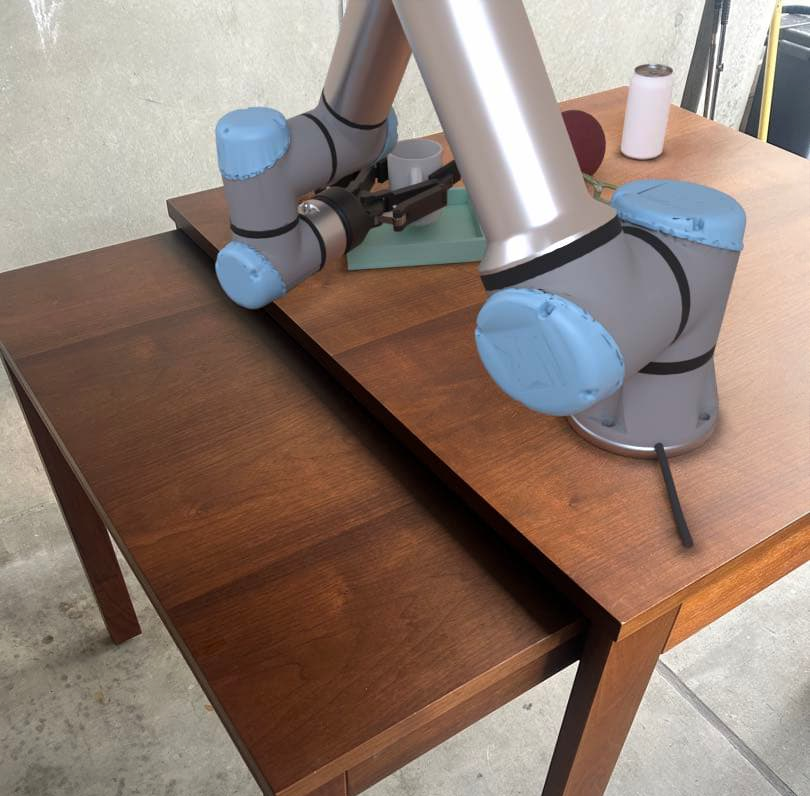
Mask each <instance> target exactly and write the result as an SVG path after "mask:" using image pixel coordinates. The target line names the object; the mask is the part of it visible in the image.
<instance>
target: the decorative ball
mask: <svg viewBox="0 0 810 796" xmlns="http://www.w3.org/2000/svg"><path fill="white" fill-rule="evenodd" d="M561 115H562V118H563V121H564V124H565V126H566V129H567V132H568V135H569V138H570V141H571V144H572V147H573V150H574V153H575V155H576V158H577V161H578V164H579V167H580V170H581V172H582V173H585V174H587V175H589V176H591V177H593V175H595V174H596V173H597V171H598V169H599V168H600V167H601V166H602V163H603V161H604V159H605V154H606V150H607V139H606V134H605V132H604V129H603V126H602V125H601V123H600V122H599V120H598V119H596V118H595V116H593V115H592V114H590V113H588V112H586V111H584V110H580V109H579V110H578V109H568V110H564V111H562V112H561ZM584 182H586V180H584Z"/></svg>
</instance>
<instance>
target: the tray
mask: <svg viewBox="0 0 810 796" xmlns="http://www.w3.org/2000/svg"><path fill="white" fill-rule="evenodd" d="M383 200H384V198H383ZM384 207H385V206H384ZM485 249H486V239H485V236H484V234H483V231H482V229H481V226H480V223H479V221H478V218H477V216H476V213H475V211H474V208H473V206H472V203H471V201H470V198H469V195H468V193H467V190H466V188H465V186H452V188H450V189H449V190H447V206H445V207H443V211H442V215H441V217H440V218H439V220H438V221H436V222H435V223H432V224H430V225H426V226H420V227H410V226H407V227H406V228H405V229H404V230H403V231H401V232H395V231H394V230H393V225H392V224H386V223H383V224H382V225H381V226H379V227H376V228H372V229H370V230H369V232H368V234H367V236H366V237H365V239H364V241H363V242H362V243H361V244H360V245H359V246H358V247H356V248H354V249H353V250H351V251H350V252H348V253H347V254H346V260H347V270H348V271H357V270H371V269H372V270H374V269H387V268H400V267H402V268H403V267H414V266H415V267H417V266H430V265H431V266H432V265H444V264H460V263H474V262H481V260H482V257H483V255H484V252H485Z"/></svg>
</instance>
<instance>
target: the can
mask: <svg viewBox="0 0 810 796" xmlns="http://www.w3.org/2000/svg"><path fill="white" fill-rule="evenodd" d="M633 70H634V72H633V74H632V75H631V77H630V80H629V85H628V91H627V97H626V98H627V99H626V107H625V111H624V112H625V113H624V120H623V129H622V135H621V141H620V151H621V153H622V155H623V156H624V157H626V158H629V159H633V160H640V161H641V160H642V161H645V160H652V159H655V158H657V157H659V156H660V155H661V154H662V153H663V149H664V144H665V138H666V132H667V126H668V120H669V116H670V115H669V114H670V110H671V104H672V98H673V91H674V85H675V84H674V83H675V80H674V76H673V73H674V69H673V68H672V67H671V66H669V65H666V64H661V63H644V64H640V65H637V66H636V67H635V68H634V69H633Z"/></svg>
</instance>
